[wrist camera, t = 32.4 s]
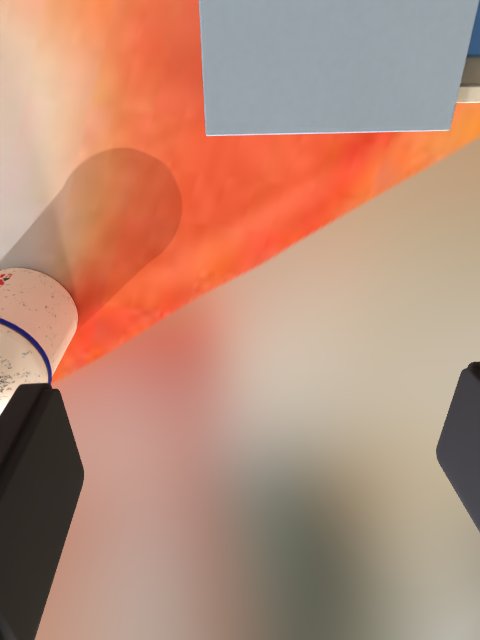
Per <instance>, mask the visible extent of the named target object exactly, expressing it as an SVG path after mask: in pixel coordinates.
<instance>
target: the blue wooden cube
mask: <svg viewBox="0 0 480 640" xmlns="http://www.w3.org/2000/svg"><path fill="white" fill-rule="evenodd" d="M466 58H480V0H479V4H478V8H477V13H476V17H475V21H474V26H473V30H472V35H471V39H470V44H469V48H468V52H467V57H466Z"/></svg>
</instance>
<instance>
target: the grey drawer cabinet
mask: <svg viewBox="0 0 480 640" xmlns="http://www.w3.org/2000/svg"><path fill="white" fill-rule="evenodd" d="M478 4H479V0H199V11H200V31H201V51H202V70H203V90H204V110H205V129H206V136H226V135H271V134H316V133H362V132H407V131H449V130H450V128H451V124H452V119H453V115H454V110H455V106H456V101H457V97H458V92H459V88H460V84H461V79H462V75H463V70H464V66H465V61H466V57H467V52H468V48H469V44H470V39H471V35H472V30H473V26H474V21H475V17H476V13H477V8H478Z"/></svg>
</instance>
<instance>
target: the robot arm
mask: <svg viewBox="0 0 480 640" xmlns="http://www.w3.org/2000/svg"><path fill="white" fill-rule="evenodd" d="M436 454H437V459H438V462H439V464H440V466H441V467H442V469H443V471H444V472H445V474H446V476H447V477H448V479H449V481H450V483H451V484H452V486H453V488H454V489H455V491H456V493H457V494H458V496H459V498H460V500H461V501H462V503H463V505H464V506H465V508H466V510H467V511H468V513H469V515H470V517H471V518H472V520H473V522H474V523H475V525H476V527H477V528H478V530H479V532H480V362H473V363H470V364H469V365H468V367H467V368H466V369H464V370H462V372H461V374H460V377H459V380H458V384H457V387H456V390H455V393H454V396H453V399H452V402H451V405H450V408H449V411H448V414H447V417H446V420H445V423H444V427H443V430H442V432H441V436H440V439H439V442H438V445H437V449H436ZM83 480H84V469H83V465H82V462H81V459H80V455H79V452H78V449H77V446H76V442H75V439H74V436H73V433H72V429H71V426H70V423H69V420H68V416H67V413H66V410H65V406H64V403H63V400H62V397H61V393H60V391H59V390H58V389H52V386H51V385H50V384H49V383H31V384H21V385H19V386H18V388H17V389H16V390H15V392H14V394H13V395H12V397H11V399H10V400H9V402H8V403H7V405H6V407H5V408H4V410H3V412H2V413H1V415H0V640H34V639H35V636H36V633H37V630H38V627H39V624H40V621H41V617H42V614H43V611H44V607H45V604H46V601H47V598H48V595H49V592H50V588H51V585H52V582H53V579H54V575H55V572H56V569H57V566H58V563H59V559H60V556H61V553H62V549H63V546H64V543H65V540H66V537H67V534H68V530H69V527H70V524H71V521H72V518H73V514H74V511H75V508H76V505H77V501H78V498H79V495H80V492H81V489H82V485H83Z"/></svg>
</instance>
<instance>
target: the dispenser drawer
mask: <svg viewBox="0 0 480 640" xmlns="http://www.w3.org/2000/svg"><path fill="white" fill-rule="evenodd" d="M456 103H480V58H466V61H465V66H464V70H463V75H462V79H461V84H460V88H459V92H458V97H457V101H456Z"/></svg>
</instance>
